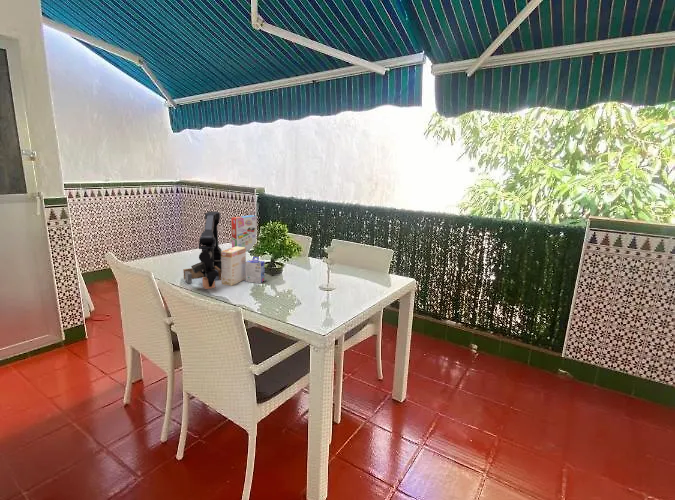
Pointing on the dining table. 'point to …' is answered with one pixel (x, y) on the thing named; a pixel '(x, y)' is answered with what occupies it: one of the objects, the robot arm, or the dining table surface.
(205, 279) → the salmon rectangular block
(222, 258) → the coffeecake box
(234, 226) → the game box
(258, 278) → the ink cartridge box
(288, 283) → the dining table surface
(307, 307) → the dining table surface
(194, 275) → the shelf
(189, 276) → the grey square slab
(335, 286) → the dining table surface
